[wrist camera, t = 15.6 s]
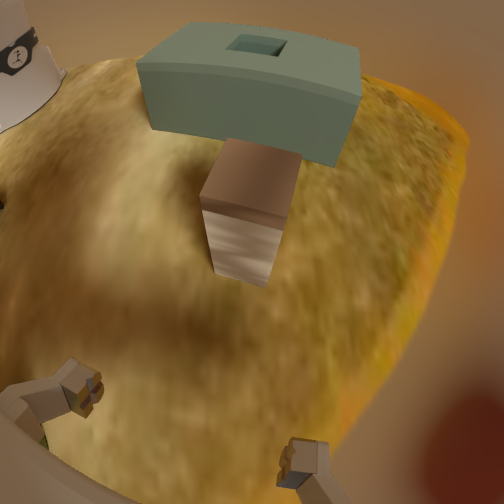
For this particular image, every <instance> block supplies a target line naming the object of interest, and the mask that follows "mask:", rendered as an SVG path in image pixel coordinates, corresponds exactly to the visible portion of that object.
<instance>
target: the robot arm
mask: <svg viewBox="0 0 504 504" xmlns="http://www.w3.org/2000/svg"><path fill="white" fill-rule="evenodd" d="M66 74H67V71H66V69H58V67H57V65H56V63H55V61H54V58H53V56H52V54H51V52H50V50H49V48H48V46H45V45H39V44H38V38H37V33H36V32H35V30H34V27H31V26H30V22H29V19H28V16H27V13H26V9H25V6H24V2H23V0H0V133H1V132H3V131H4V130H6V129H8V128H10V127H12V126H14V125H16V124H18V123H19V122H21V121H23V120H24V119H26V118H27V117H28V116H30V115H31V114H32V113H34V112H35V111H36V110H38V109H39V108H40V107H41V106H42V105H43V104H45V103H46V102H47V101H48V100H49V99H50V98H51V97H52V96H53V95H54V93H55V92H56V91H57V90H58V88H59V87H60V85H61V81H62V79H63V77H64V76H65V75H66ZM101 379H102V376H101V373H100V372H98V371H96V370H94V369H92V368H90V367H89V366H87V365H85V364H83V363H82V362H80V361H78V360H77V359H75V358H70V359H69V360H68V361H67V362H66V363H65V364H64V365H63V366H62V367H61V368H60V369H59V370H58V371H57V372H56V373H55V374H54V375H53V376H52V377H51V378H50V377H44V378H40V379H35V380H31V381H27V382H23V383H18V384H14V385H9V386H7V387H6V388H5V389H4V390H3V391H2V392H1V393H0V504H141V503H139V502H136V501H134V500H132V499H130V498H128V497H126V496H123V495H121V494H119V493H117V492H115V491H113V490H111V489H109V488H107V487H106V486H104V485H102V484H100V483H98V482H96V481H95V480H93V479H91V478H89V477H88V476H86V475H84V474H83V473H81V472H79V471H78V470H76V469H75V468H73V467H71V466H70V465H68V464H67V463H65V462H64V461H62V460H61V459H60V458H58V457H57V456H55V455H54V454H52V453H51V452H50V451H48V450H47V449H46V448H44V447H43V446H42V445H40V444H39V442H40V440H41V439H42V438H43V436H44V435H45V434H44V431H43V429H42V428H41V426H40V424H41V423H43V422H46V421H48V420H51V419H53V418H56V417H58V416H61V415H63V414H66V413H68V412H70V411H71V410H72V411H73V412H75V413H77V414H78V415H80V416H82V417H84V418H85V419H86V418H87V417H88V416H89V414H90V413H91V412H92V410H93V404H96V403H98V402H99V401H100V400H101V398H102V396H103V393H104V386H103V384H102V382H101V381H100V380H101ZM279 466H280V467H281V470H280V471H279V473H278V475H277V483H276V486H277V487H283V488H289V489H296V492H297V494H298V496H299V498H300V500H301V502H302V504H354V503H353V502H352V501H351V499H350V498H349V497H348V495H347V494H346V493H345V491H344V490H343V489H342V487H341V486H340V485H339V483H338V482H337V480H336V479H335V478H334V476H332V475H330V460H329V443H328V442H324V441H316V440H310V439H302V438H295V437H292V438H290V440H289V442H288V445H287V446H285V447H284V449H283V451H282V453H281V456H280V461H279Z"/></svg>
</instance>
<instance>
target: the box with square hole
mask: <svg viewBox="0 0 504 504" xmlns="http://www.w3.org/2000/svg"><path fill="white" fill-rule="evenodd" d="M136 66H137V70H138V74H139V79H140V83H141V87H142V91H143V95H144V99H145V103H146V107H147V111H148V114H149V118H150V122H151V125H152V129H153V130H160V131H168V132H175V133H182V134H189V135H195V136H201V137H207V138H213V139H218V140H223V141H226V140H227V138H234V139H239V140H243V141H248V142H253V143H257V144H262V145H266V146H271V147H275V148H279V149H283V150H287V151H291V152H295V153H299V154H302V159H305V160H309V161H313V162H316V163H320V164H323V165H326V166H330V167H333V168H334V167H335V164H336V162H337V159H338V157H339V155H340V152H341V150H342V147H343V145H344V142H345V140H346V137H347V134H348V132H349V129H350V127H351V124H352V122H353V119H354V116H355V114H356V111H357V108H358V106H359V103H360V100H361V98H362V88H361V72H360V60H359V49H358V48H356V47H353V46H349V45H346V44H343V43H339V42H336V41H332V40H328V39H324V38H320V37H316V36H312V35H307V34H303V33H298V32H292V31H287V30H281V29H275V28H268V27H261V26H252V25H242V24H230V23H210V22H190V23H189V24H187V25H186V26H184V27H183V28H181V29H180V30H178V31H177V32H175V33H174V34H173V35H171V36H170V37H168V38H167V39H166V40H164V41H163V42H161V43H160V44H159V45H158V46H156V47H155V48H154V49H152V50H151V51H150V52H148V53H147V54H146V55H145V56H143V57H142V58H141V59H140V60H139V61H137V62H136Z"/></svg>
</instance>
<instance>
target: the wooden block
mask: <svg viewBox="0 0 504 504" xmlns="http://www.w3.org/2000/svg"><path fill="white" fill-rule="evenodd" d="M301 159H302V154H299V153H295V152H291V151H287V150H283V149H279V148H275V147H271V146H266V145H262V144H257V143H253V142H248V141H243V140H239V139H234V138H227V140H226V141H225V143H224V145H223V147H222V149H221V151H220V153H219V155H218V157H217V159H216V161H215V163H214V165H213V167H212V169H211V171H210V173H209V175H208V178H207V180H206V182H205V184H204V186H203V188H202V190H201V192H200V194H199V198H200V203H201V208H202V213H203V218H204V223H205V228H206V233H207V238H208V243H209V248H210V252H211V257H212V262H213V266H214V271H215V274H219V275H222V276H226V277H229V278H233V279H236V280H240V281H243V282H247V283H250V284H254V285H257V286H261V287H265V288H266V286H267V283H268V280H269V277H270V273H271V270H272V267H273V263H274V260H275V257H276V253H277V250H278V247H279V243H280V240H281V237H282V233H283V230H284V226H285V223H286V220H287V216H288V212H289V208H290V204H291V200H292V196H293V192H294V188H295V184H296V180H297V176H298V172H299V167H300V163H301Z"/></svg>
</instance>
